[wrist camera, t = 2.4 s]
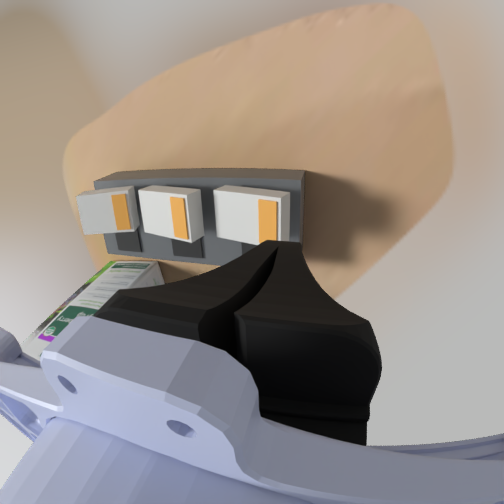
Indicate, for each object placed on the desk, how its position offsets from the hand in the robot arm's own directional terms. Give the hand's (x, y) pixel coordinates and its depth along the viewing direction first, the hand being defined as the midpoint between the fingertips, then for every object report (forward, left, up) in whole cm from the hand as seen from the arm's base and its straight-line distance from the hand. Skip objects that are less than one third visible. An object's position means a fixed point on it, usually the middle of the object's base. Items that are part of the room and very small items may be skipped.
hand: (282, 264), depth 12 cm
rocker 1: (0, +13, -5) cm, 14 cm away
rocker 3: (0, +3, -5) cm, 6 cm away
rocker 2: (0, +8, -5) cm, 9 cm away
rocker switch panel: (-1, +8, -10) cm, 12 cm away
